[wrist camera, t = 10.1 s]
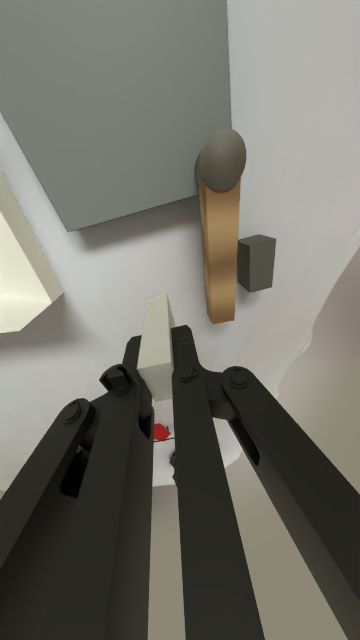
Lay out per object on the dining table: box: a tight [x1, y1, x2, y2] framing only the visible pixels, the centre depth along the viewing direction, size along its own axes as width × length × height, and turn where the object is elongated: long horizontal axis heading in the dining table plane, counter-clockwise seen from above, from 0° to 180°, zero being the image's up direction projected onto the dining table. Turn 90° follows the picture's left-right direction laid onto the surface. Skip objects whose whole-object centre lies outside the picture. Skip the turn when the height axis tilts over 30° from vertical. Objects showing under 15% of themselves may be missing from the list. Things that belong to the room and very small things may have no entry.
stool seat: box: [0, 0, 232, 232], centre depth 14 cm, size 18×16×2 cm
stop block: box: [237, 235, 276, 293], centre depth 22 cm, size 3×6×4 cm, turn 13°
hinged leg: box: [195, 128, 246, 324], centre depth 18 cm, size 18×4×3 cm, turn 8°
